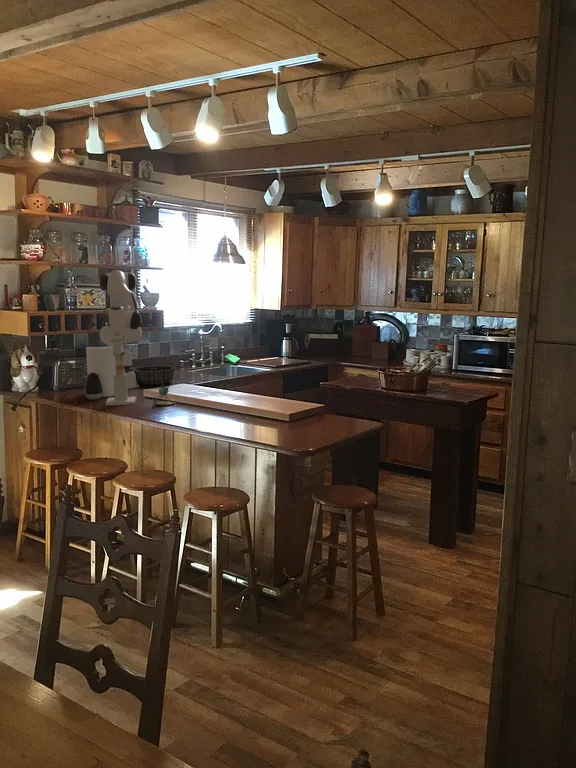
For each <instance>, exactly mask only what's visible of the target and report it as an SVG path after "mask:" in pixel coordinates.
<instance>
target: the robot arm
mask: <svg viewBox="0 0 576 768" xmlns="http://www.w3.org/2000/svg"><path fill="white" fill-rule="evenodd" d="M97 280H98V281H97V282H98V286H99V287H100V289H101V290H102V291H104V292H107V294H108V296H109V306H110V307H109V310H108V314H107V316H106V326H102V327H101V329H100V330H99V338H100V341H102V342H103V343H104V344H105V345H107V347H113V351H114V355H116V358H117V363H120V355H121V353H122V352H125V355H123V368H124V373H126V374H127V390H128V389H129V390H130V389H135V388H140V384H139V383H138V382H137V381H136V377H135V373H134V371H133V369H134V366H133V363H132V352H131V351H130V350H129V349H127V348H125V347H124V344H125V343H134V342H138V341H140V340H141V339H142V337H143V331H142V328H141V326H142V322H143V319H142V316H141V313H140V310H139V308H138V304H137V300H136V296H135V294H134V292H133V290H135V289H136V286H137V284H138V283H137V282H138V279H137V276H136V275H135V273H133V272H128V271H127V272H126V271H125V272H124V271H122V270H119V269H116V270H111V272H103V273H101V274H99V277H98V279H97Z"/></svg>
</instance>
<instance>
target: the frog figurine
mask: <svg viewBox="0 0 576 768" xmlns="http://www.w3.org/2000/svg"><path fill="white" fill-rule="evenodd" d="M161 383H162V384H160V387H159V389H158V394H159V396H154V397H153V399H154V401H153V402H152V403H151V409H157V408H158V406H170V405H174V404H176V402H173V401H172V400H170V399H169V398H168V396H167V395H168V393H169V388H170V386H169V385H166V386H165V384H163V380H161ZM164 398H165V401H163V400H162V401H159V402H158V400H159V399H164ZM157 399H158V400H157Z"/></svg>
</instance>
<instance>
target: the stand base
mask: <svg viewBox="0 0 576 768" xmlns="http://www.w3.org/2000/svg"><path fill="white" fill-rule="evenodd" d="M113 380H114V397H108V398H107V400H106V402H105V406H121V405H122V406H124V405H135V404H136V401H137V396H129V395H128V394H129V393H128V389H127V374H126V373H124V375H116V374H114V375H113Z"/></svg>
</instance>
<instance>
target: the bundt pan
mask: <svg viewBox="0 0 576 768" xmlns="http://www.w3.org/2000/svg"><path fill="white" fill-rule="evenodd" d="M132 371H133V372H134V373H135V377H136V383H137V384H139V385H144V386H148V385H151V386H154V385H155V386H158V385H162V383H161V380H163V384H164V385H165V384H168V383H171V382H172V380H173V378H174V373H175V372H174V371H175V367H174V366H169V365H148V366H141V367H140V366H139V367H133V370H132Z"/></svg>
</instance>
